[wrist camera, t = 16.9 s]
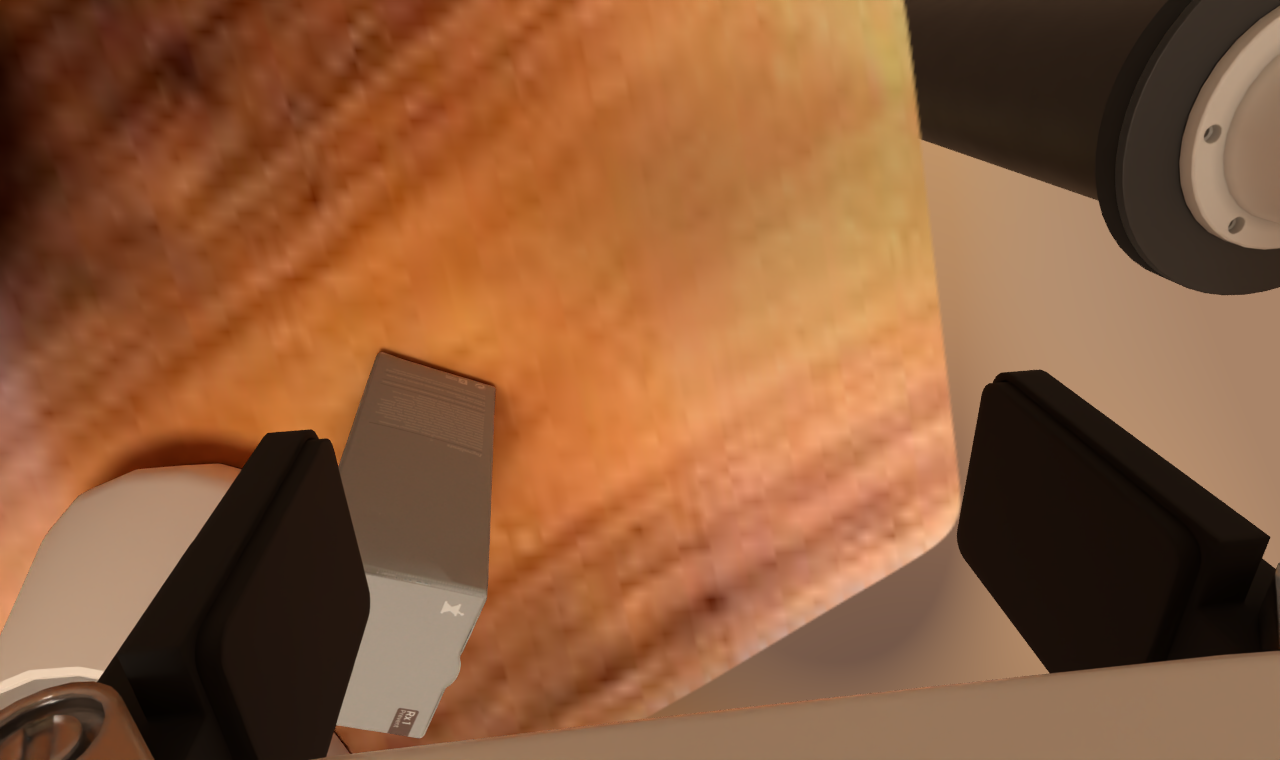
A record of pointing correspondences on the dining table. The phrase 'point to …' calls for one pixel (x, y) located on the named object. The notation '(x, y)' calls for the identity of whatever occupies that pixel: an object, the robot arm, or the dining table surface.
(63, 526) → the white vase
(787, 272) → the dining table surface
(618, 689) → the dining table surface
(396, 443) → the cosmetic box
